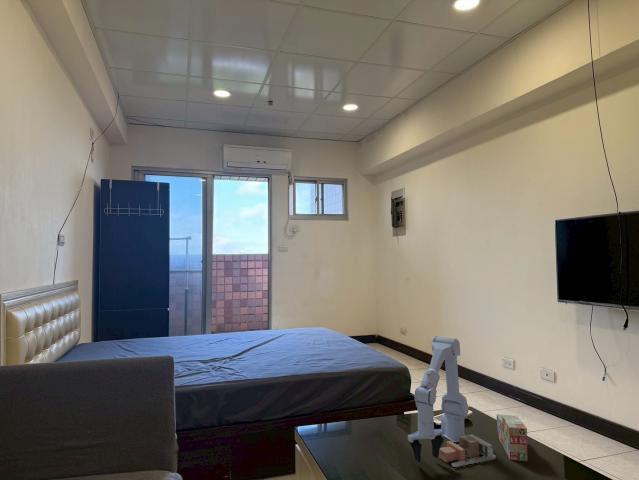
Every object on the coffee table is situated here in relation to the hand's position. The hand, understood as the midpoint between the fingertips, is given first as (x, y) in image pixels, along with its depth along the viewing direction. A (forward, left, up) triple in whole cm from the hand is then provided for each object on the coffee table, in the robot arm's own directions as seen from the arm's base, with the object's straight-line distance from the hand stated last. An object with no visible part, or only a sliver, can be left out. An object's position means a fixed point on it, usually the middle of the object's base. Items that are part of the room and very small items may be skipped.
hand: (426, 458), depth 149 cm
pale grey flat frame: (0, +17, -2) cm, 17 cm away
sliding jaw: (0, +11, -2) cm, 11 cm away
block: (0, +20, -2) cm, 20 cm away
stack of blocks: (+2, +39, -2) cm, 39 cm away
